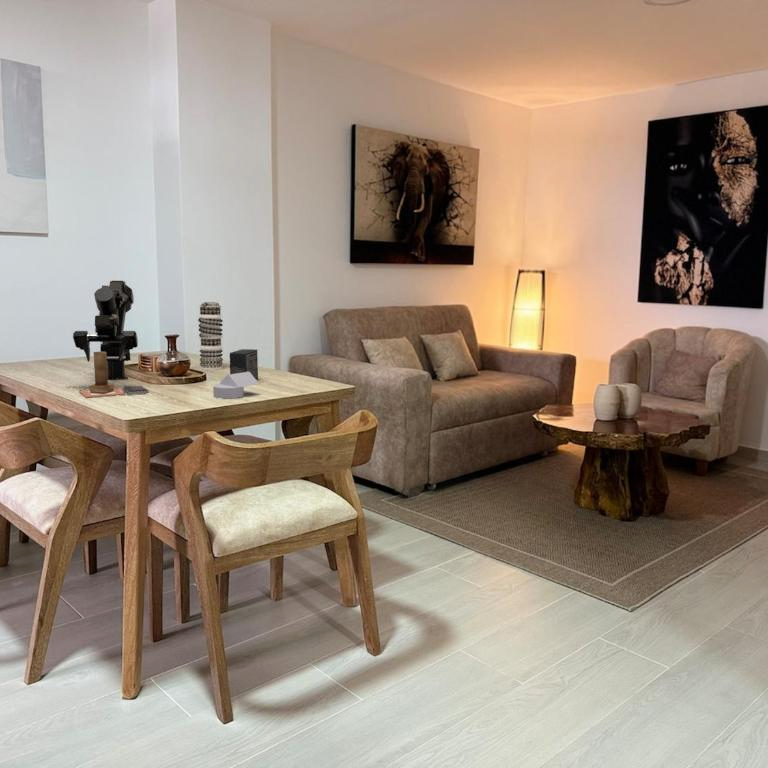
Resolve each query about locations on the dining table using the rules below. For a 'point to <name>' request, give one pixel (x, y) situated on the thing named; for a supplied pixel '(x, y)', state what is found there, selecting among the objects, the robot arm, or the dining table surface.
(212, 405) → the dining table surface
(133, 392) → the ink pad
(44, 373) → the dining table surface
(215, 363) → the decorative candle
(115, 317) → the robot arm
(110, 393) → the print card
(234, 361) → the small box
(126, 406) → the dining table surface
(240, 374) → the wedge on round base
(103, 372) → the stamp
